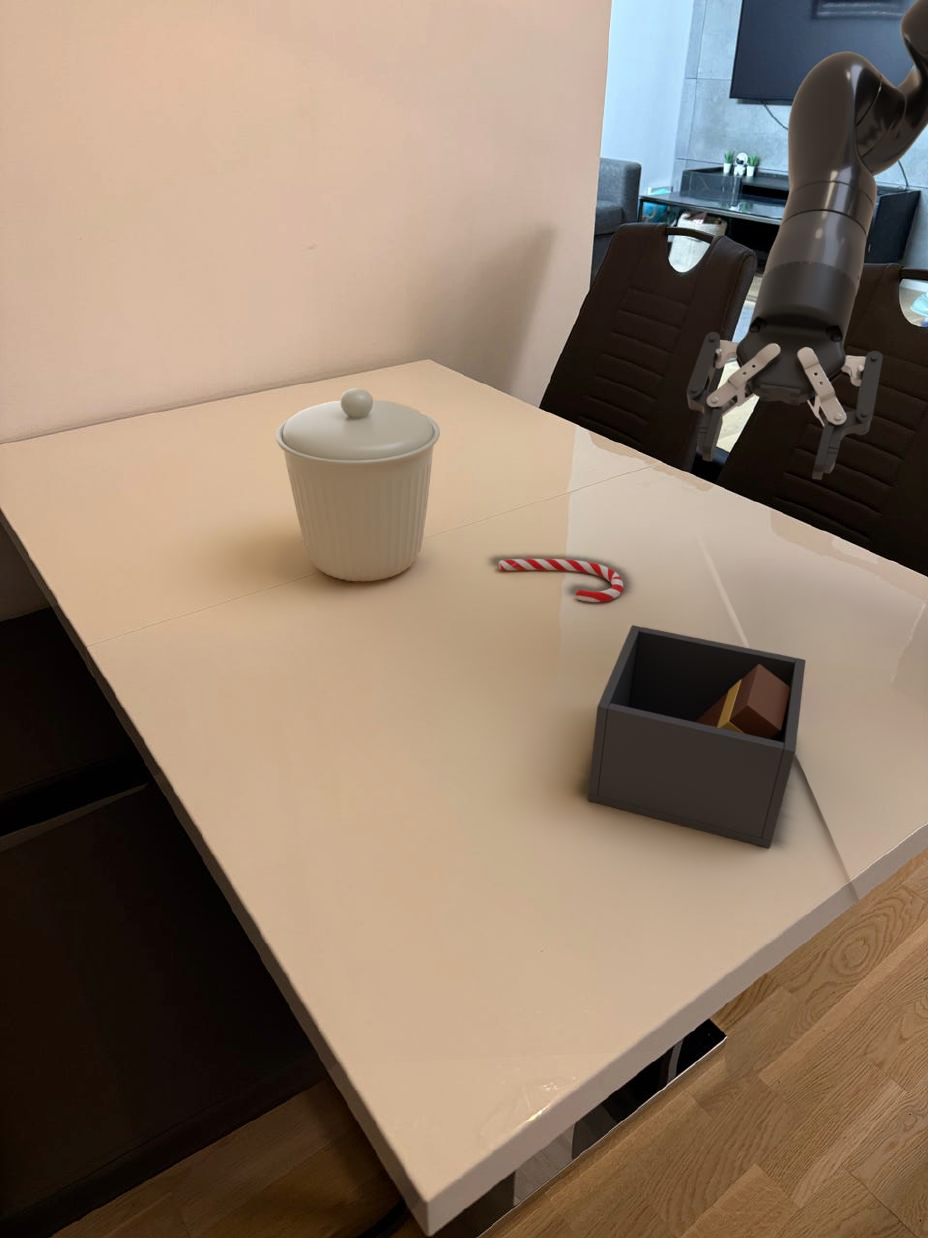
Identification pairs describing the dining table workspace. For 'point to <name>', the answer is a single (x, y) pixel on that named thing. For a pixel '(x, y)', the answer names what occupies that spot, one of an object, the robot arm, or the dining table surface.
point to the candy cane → (571, 566)
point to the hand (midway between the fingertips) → (761, 465)
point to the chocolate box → (751, 705)
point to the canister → (360, 483)
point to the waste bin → (691, 737)
